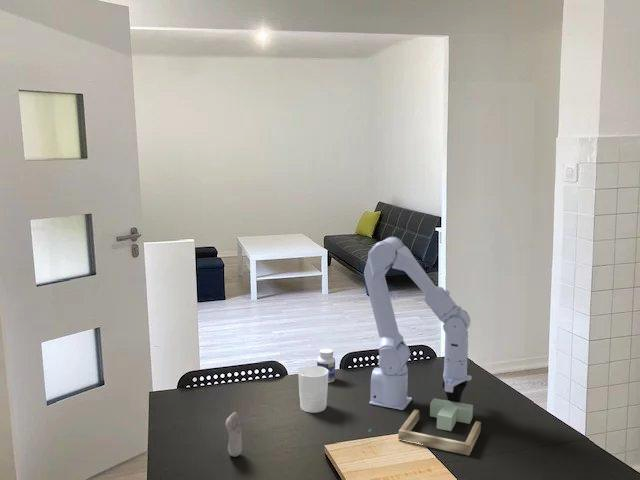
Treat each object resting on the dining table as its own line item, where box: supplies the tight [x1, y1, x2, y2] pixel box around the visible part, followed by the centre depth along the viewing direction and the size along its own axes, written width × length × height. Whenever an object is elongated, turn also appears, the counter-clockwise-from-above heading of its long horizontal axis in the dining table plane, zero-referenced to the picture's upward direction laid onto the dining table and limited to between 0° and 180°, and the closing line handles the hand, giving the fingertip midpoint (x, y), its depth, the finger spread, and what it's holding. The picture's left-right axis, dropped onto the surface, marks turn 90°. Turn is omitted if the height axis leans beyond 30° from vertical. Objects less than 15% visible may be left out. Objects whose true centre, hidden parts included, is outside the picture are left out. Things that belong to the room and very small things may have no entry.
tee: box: [429, 397, 474, 432], centre depth 153 cm, size 10×10×4 cm
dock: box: [397, 409, 482, 456], centre depth 145 cm, size 16×13×2 cm
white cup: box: [297, 365, 329, 414], centre depth 160 cm, size 8×8×10 cm
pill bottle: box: [316, 348, 336, 384], centre depth 180 cm, size 5×5×9 cm
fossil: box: [225, 411, 243, 458], centre depth 136 cm, size 6×4×10 cm, turn 5°
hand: (453, 408), depth 158 cm, fingers closed
